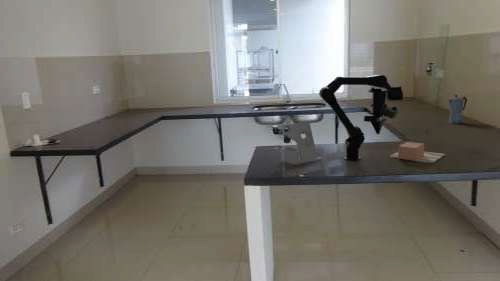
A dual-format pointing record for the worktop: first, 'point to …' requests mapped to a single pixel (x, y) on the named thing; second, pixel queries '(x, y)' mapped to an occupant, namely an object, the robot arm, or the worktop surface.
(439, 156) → the birch board
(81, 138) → the worktop surface
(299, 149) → the phone holder
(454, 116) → the moka pot
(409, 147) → the terracotta block
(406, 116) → the worktop surface
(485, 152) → the worktop surface
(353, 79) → the robot arm
